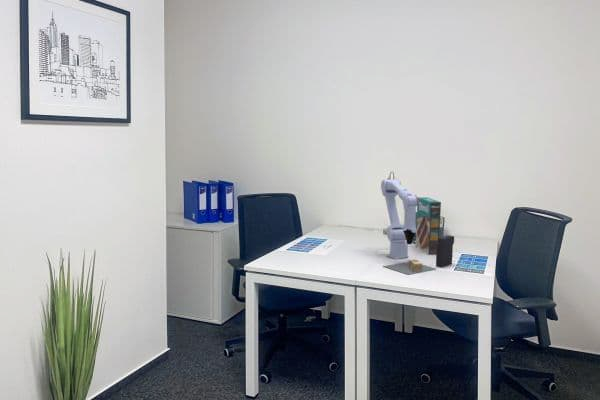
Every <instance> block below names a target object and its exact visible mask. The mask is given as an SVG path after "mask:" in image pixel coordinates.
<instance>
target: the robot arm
mask: <svg viewBox="0 0 600 400" xmlns="http://www.w3.org/2000/svg"><path fill="white" fill-rule="evenodd" d="M401 183H402V182H401V181H400V179H398V178H397V179H382V180H381V184H380V190H381V193H382V196H384V199H385V203H386V207H387V213H388V217H389V223H390V225H389V226H388V227H387V229H386V234H387V235H386V236H387V239H388V241H389V242H390V247H389V248H390V249H389V254H386V257H388V258H392V259H395V260H399V259H405V258H409V255H408V254H409V253H408V252H409V251H408V250H409V249H408V247H409V245H412V244H413V240H414V237H415V236H416V233H417V229H416V221H417V205H418V196H417V195H416V194H415V195H414V194H412V193H411V192H410V191H409V190H408V189H407V188H403V186H402V184H401ZM396 196H398V197H399V199H400V200H401V201H402V205H403V211H404V213H403V214H404V221H403V223H404V224H402V223H401V222H400V217H399V213H398V208H397V204H396V200H395V197H396Z"/></svg>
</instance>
